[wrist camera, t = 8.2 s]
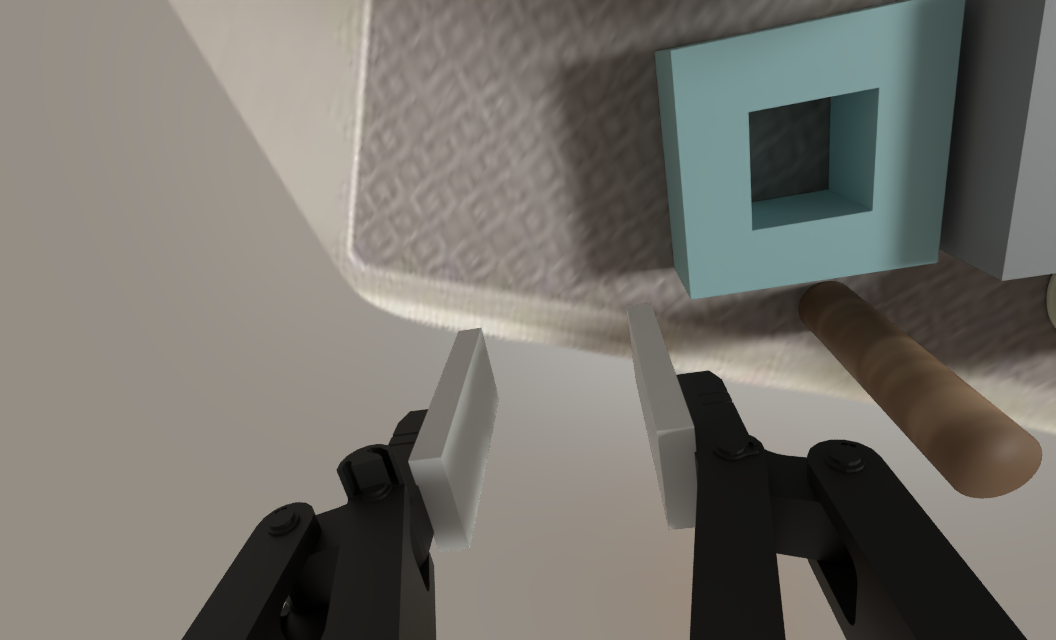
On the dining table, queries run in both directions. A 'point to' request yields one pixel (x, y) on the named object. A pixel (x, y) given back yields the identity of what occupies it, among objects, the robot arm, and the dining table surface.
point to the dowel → (923, 396)
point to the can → (1052, 299)
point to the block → (855, 146)
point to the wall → (1004, 141)
